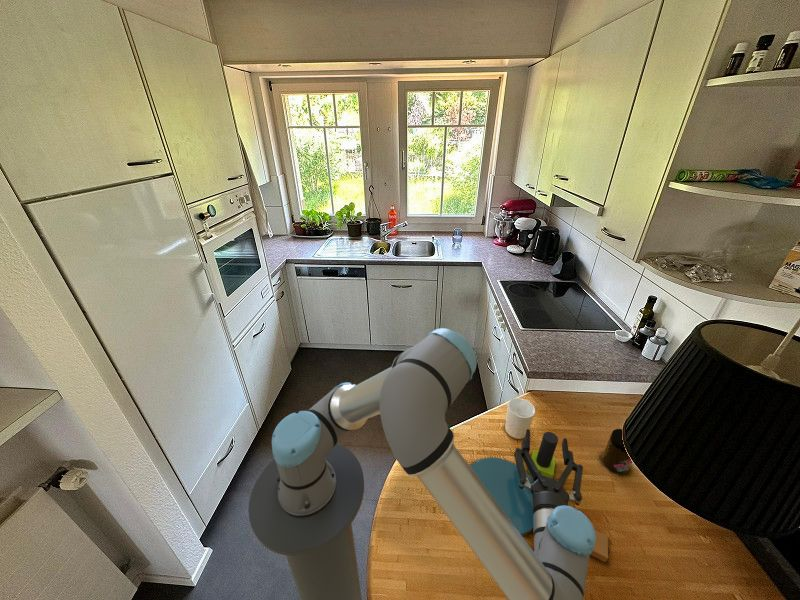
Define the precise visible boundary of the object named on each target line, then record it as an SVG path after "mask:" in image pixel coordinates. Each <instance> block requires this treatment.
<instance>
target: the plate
mask: <svg viewBox="0 0 800 600" xmlns="http://www.w3.org/2000/svg"><path fill="white" fill-rule="evenodd" d="M469 466H470V467H471V468H472V470H473V471H474V472H475V474H476V475H477V476H478V478H479V479H480V480H481V482H482V483H483V484H484V486H485V487H486V488H487V490H488V491H489V492H490V494H491V495H492V496H493V498H494V499H495V501H496V502H497V503H498V505H499V506H500V507H501V509H502V510H503V511H504V513H505V514H506V515H507V517H508V518H509V519H510V521H511V522H512V523H513V525H514V526H515V527H516V529H517V530H518V531H519V533H520V534H521V536H522V537H524V536H525V535H528V534H529V533H531V532H532V531H534V528H533V515H534V513H533V495H532V493H531V490H529V489H527V488H523V489H520V488H519V481H520V479H519V475H518V470H517V466H516V463H514V462H512V461H509V460H507V459H503V458H499V457H484V458H481V459H478V460H475V461H474V462H473V463H471V464H470V465H469ZM526 477H527V478H528V480H529V483H530V484H532V483H533V482H534V481H533V478H532V476H530V475H529V473H528V472H526Z"/></svg>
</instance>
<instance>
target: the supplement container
mask: <svg viewBox="0 0 800 600" xmlns="http://www.w3.org/2000/svg"><path fill="white" fill-rule="evenodd" d="M622 429H623V428H616V429H613V430H612V432H611V434H610V436H609V439H608V442H607V443H606V445H605V448H604V450H603V453H602V455H601V460H602V462H603V464H604V465H605V467H606V468H607V469H609V470H610V471H612V472H614V473H616V474H625V473H627V472H628V471H630V469H631V466H632V464H633V462H632V461H631V459H630V457H629V456H628V454H627V452H626V450H625V447H624V444H623V440H622Z"/></svg>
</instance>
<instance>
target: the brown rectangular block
mask: <svg viewBox="0 0 800 600" xmlns="http://www.w3.org/2000/svg"><path fill="white" fill-rule="evenodd" d="M595 533H596V542H595V544H594V550H593V552H592V553H591V554H590V557H593V558H595V559H597V560H599V561H601V562H603V563H606V562H607V561H608V559H609V535H608V534H605V533H603V532H601V531H599V530H597V529H595Z"/></svg>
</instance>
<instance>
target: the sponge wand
mask: <svg viewBox="0 0 800 600" xmlns="http://www.w3.org/2000/svg"><path fill="white" fill-rule="evenodd" d="M558 443H559V437H558V436H557V434H555V433H554V432H551V431H545V432H544V433H543V435H542V439H541V442H540V445H539V449H538V450H537V449H534V448H533V450H532V453H531V458H532V459H533V461H534V463H535V465H536V467H537V468H538V470H539V471H540V472H541V474H542V475H543V476H546V477H548V478H554V475H555V468H556V467H555V466H556V461H557V458H556V457H554V455H555V452H556V449H557V445H558ZM527 474H530V472H529V470H528V469H527Z"/></svg>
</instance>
